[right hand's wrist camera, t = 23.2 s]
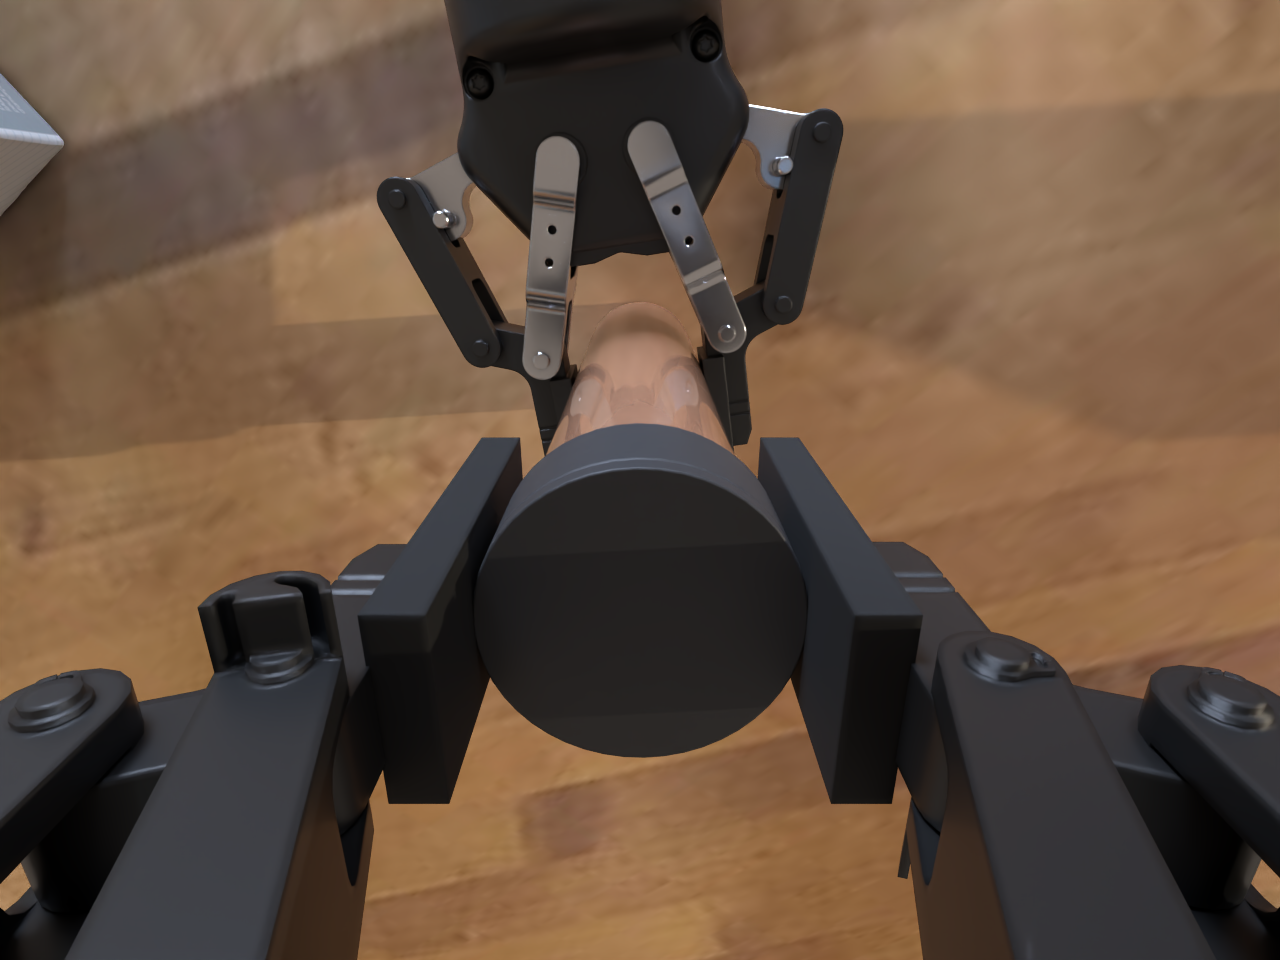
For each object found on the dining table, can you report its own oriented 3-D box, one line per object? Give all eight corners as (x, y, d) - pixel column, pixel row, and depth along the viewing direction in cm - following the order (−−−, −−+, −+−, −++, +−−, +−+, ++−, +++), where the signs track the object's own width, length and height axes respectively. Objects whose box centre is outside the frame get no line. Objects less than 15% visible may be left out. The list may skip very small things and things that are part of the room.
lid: (531, 688, 13) (512, 776, 11) (470, 445, 11) (433, 495, 9) (791, 655, 13) (820, 738, 11) (768, 400, 11) (795, 442, 9)
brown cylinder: (630, 421, 30) (617, 744, 12) (568, 343, 29) (447, 568, 11) (710, 363, 29) (828, 613, 11) (650, 279, 28) (668, 406, 10)
